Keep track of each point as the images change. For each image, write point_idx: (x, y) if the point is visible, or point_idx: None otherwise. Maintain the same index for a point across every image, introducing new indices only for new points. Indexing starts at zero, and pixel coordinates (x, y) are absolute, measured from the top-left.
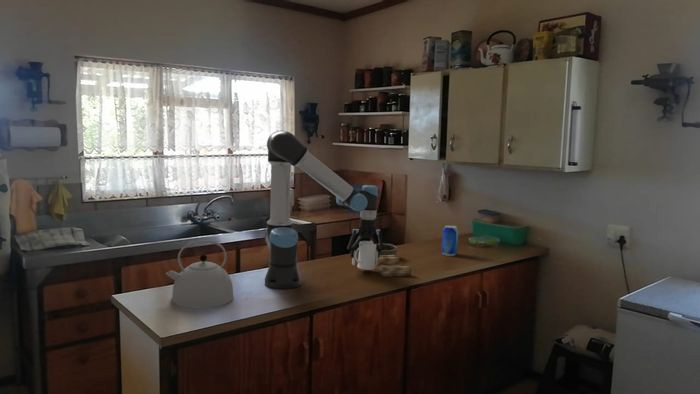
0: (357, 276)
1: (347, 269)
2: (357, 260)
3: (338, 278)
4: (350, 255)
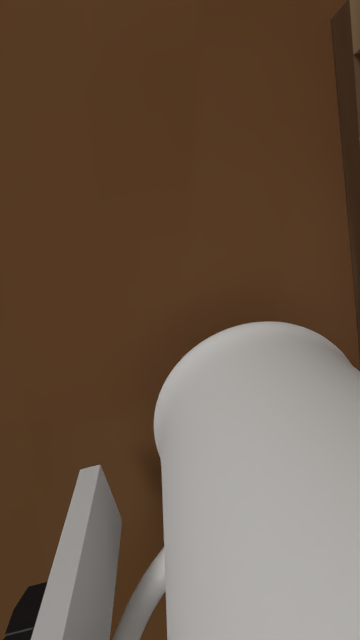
0: (159, 528)
1: (51, 343)
2: (148, 611)
3: (8, 594)
4: (10, 621)
